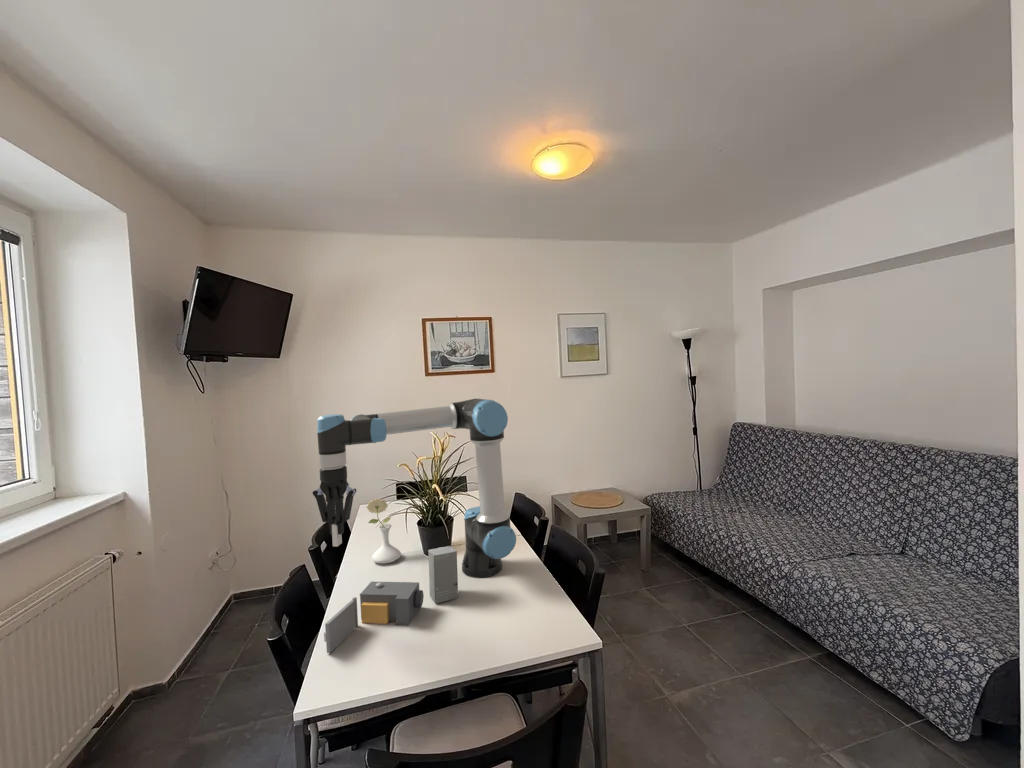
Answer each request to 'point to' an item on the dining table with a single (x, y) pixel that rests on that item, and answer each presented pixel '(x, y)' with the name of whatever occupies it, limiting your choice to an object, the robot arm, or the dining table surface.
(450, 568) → the skincare box
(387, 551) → the flower in vase
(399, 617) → the housing
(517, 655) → the dining table surface
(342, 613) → the door
